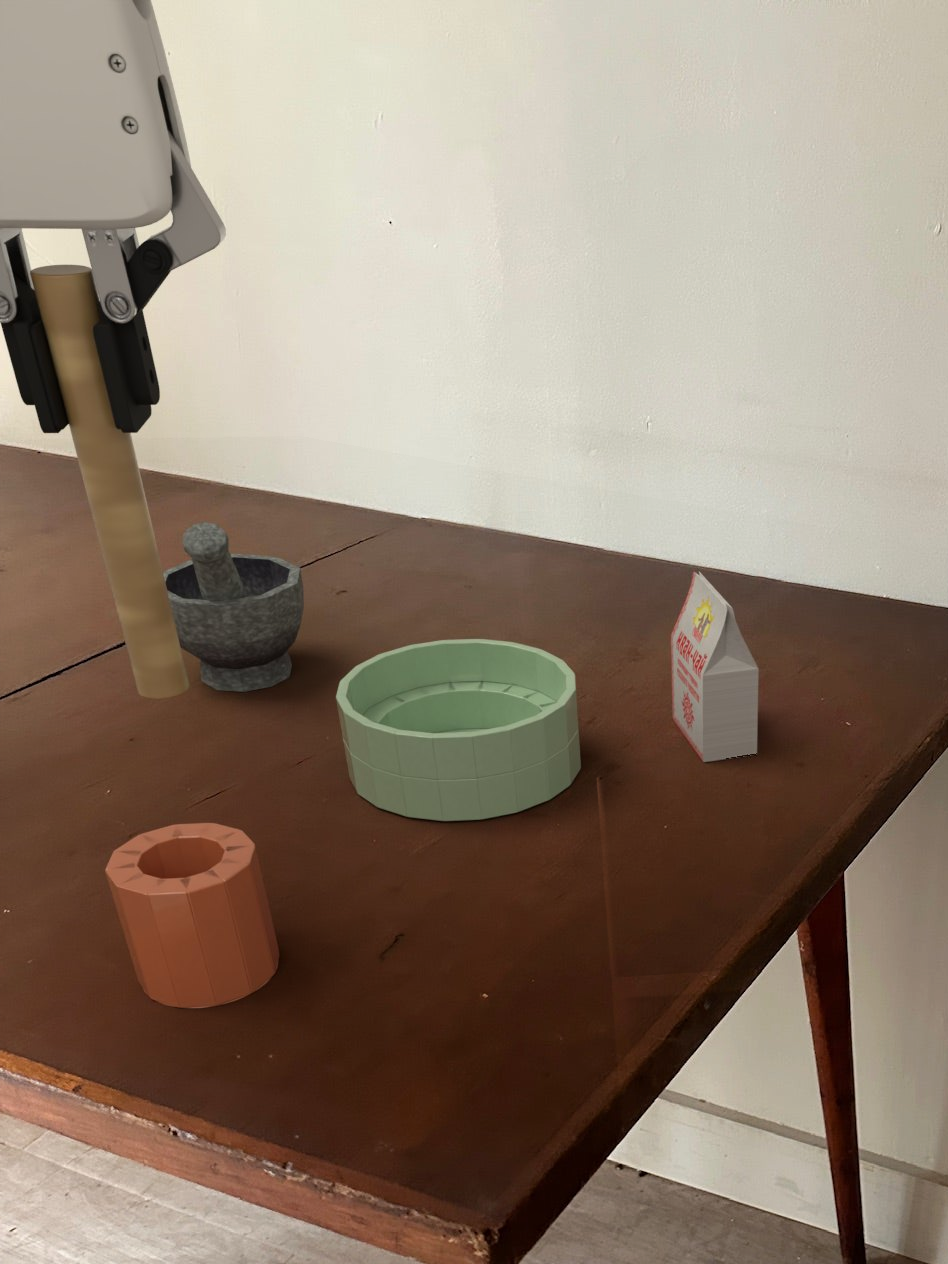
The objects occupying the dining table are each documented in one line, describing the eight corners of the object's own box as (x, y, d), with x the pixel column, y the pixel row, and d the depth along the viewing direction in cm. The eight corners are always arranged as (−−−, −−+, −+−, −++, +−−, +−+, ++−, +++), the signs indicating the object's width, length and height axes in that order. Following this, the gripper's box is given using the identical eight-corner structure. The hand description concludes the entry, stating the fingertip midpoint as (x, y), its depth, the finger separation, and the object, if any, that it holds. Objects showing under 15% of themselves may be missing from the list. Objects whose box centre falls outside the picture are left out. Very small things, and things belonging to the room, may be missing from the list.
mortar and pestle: (187, 649, 105) (147, 481, 97) (319, 643, 106) (290, 477, 99) (165, 715, 96) (120, 536, 89) (310, 707, 97) (277, 530, 90)
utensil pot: (130, 1019, 69) (91, 897, 65) (158, 943, 75) (124, 825, 70) (270, 1011, 70) (241, 890, 66) (288, 936, 75) (262, 819, 71)
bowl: (340, 835, 84) (323, 741, 80) (363, 728, 95) (349, 642, 91) (584, 824, 86) (578, 732, 82) (578, 720, 97) (573, 635, 93)
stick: (132, 700, 63) (22, 274, 53) (143, 679, 65) (38, 263, 55) (184, 699, 64) (83, 275, 53) (193, 678, 65) (98, 264, 55)
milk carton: (723, 711, 98) (724, 568, 92) (756, 754, 93) (759, 605, 87) (672, 718, 97) (669, 573, 91) (703, 762, 92) (702, 612, 86)
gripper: (228, -156, 50) (315, 399, 61) (-260, -175, 48) (-79, 400, 60) (185, -166, 44) (290, 450, 56) (-372, -189, 43) (-148, 452, 54)
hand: (98, 420), depth 57 cm, fingers closed on stick, 2 cm apart
